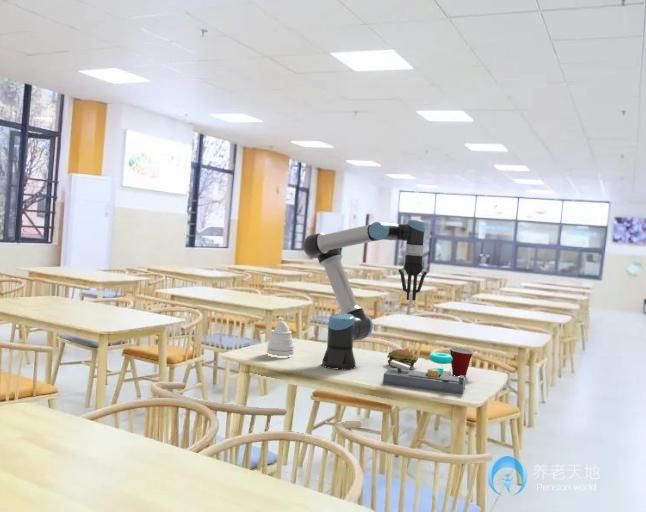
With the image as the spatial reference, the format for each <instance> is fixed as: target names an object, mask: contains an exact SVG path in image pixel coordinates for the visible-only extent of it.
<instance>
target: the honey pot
mask: <svg viewBox="0 0 646 512" xmlns="http://www.w3.org/2000/svg"><path fill="white" fill-rule="evenodd" d="M284 318H285V317H278V321H279V322H278V323H277V324H276V326H275V327H274V329H271V331H270V333H271V336H270V337H269V340H268V344H267V350H266V354H267V353H269V354H272V355H277V356H289V355H293V354H294V355H295V343H294V340H293V337H292V333H293V331H292V330H290V328H289V325H288V324H287V323H286V321H284V320H285V319H284Z"/></svg>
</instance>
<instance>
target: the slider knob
mask: <svg viewBox="0 0 646 512" xmlns="http://www.w3.org/2000/svg"><path fill="white" fill-rule="evenodd" d="M450 372H451V369H450V368H445V369H444V370H443V378H442V380H449V378H450Z"/></svg>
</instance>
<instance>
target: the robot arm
mask: <svg viewBox="0 0 646 512" xmlns="http://www.w3.org/2000/svg"><path fill="white" fill-rule="evenodd" d="M425 225H426V224H425V221H424V220H422V219H421V220H419V219H418V220H417V219H409V220H408V221H407V223H394V222H393V223H392V222H383V221H374V222H373V223H372V224H366V225H363V226H358V227H352V228H348V229H344V230H340V231H339V230H338V231H335V232H330V233H326V234H325V232H320V233H312V234H310V235H309V234H308V236H307V237H305V238H304V241H303V245H302V247H303V251H304V253H305V254H306V255H307V256H308V258H309V257H310V258H312V259H317V261H318V263H319V265H320V266H321V267H323V268H324V270H325V273H326V275H327V277H328V280H329V283H330V287H331V289H332V292H333V293H334V296H335V297H334V298H335V299H336V302H337V305H338V307H339V309H340V310H339V311H340V313H335V314H332V315H330V316H329V319H328V323H327V327H328V328H327V343H326V345H327V346H326V350H325V353H324V355H323V358H322V361H321V365H322V364H323V365H324V366H326V367H325V368H327V367H330V368H329V369H331V368H338V369H337V370H341V369H346V370H351V369H350V368H353V369H355V368H356V358H355V354H354V349H353V347H354V341H355V342H356V341H362V340H364V339H366V338H368V337H369V336H370V335H371V334H372V332H373V331H372V330H373V325H374V324H373V320H372V319H371V317H370V316H369V315H367V314H365V311H364V308H363V307H361V306H359V305H358V302H357V300H356V296H355V294H354V292H353V289H352V286H351V284H350V281H349V279H348V276H347V274H346V272H345V271H346V270H345V268H344V265H343V263H342V259H343V254H342V252H343V251H342V250H343V248H347V247H352V246H355V245H356V246H357V245H362V244H365V243H371V242H377V241H381V240H384V241H385V240H387V241H405V242H406V243H405V245H406V246H405V258H404V260H405V261H404V265H403V267H402V268H400V269H398V272H399V275H400V280H401V281H400V282H401V285H402V290H403V292H406V301H408V306H407V307H408V308H409V309H412V308H413V307H414V301H416V298H417V293H420V292H421V291H422V290H421V289H422V286H423V284H424V281H425V277H426V276H427V274H428V272H429V271H426V270H425V269H424V267H423V258H424V257H423V254H424V242H425V241H424V240H425V232H426V231H425V229H426V228H425V227H426V226H425ZM405 273H406V274H407V282H406V277H405ZM420 273H421V277H420V280H419V283H418V276H419V274H420ZM412 276H413V279H412ZM412 280H413V281H412ZM412 282H413V284H412ZM406 283H407V284H406ZM417 284H418V285H417ZM411 287H412V288H411ZM411 289H412V291H411ZM323 365H322V366H323ZM324 366H323V367H324ZM354 367H355V368H354Z"/></svg>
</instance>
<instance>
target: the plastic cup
mask: <svg viewBox="0 0 646 512" xmlns="http://www.w3.org/2000/svg"><path fill="white" fill-rule="evenodd" d="M449 353H450V355H451V356H452V358H453V360H452V361H451V362H450V363H451V370H452V371H451V374H452V376H454V375H455V376H460V375H463V376H465V377H466V376H467V373H468V369H469V366H470V361H471V358H472V356H473V354H474V351H473V350H471V349H469V348H463V347H457V346H451V347H449Z"/></svg>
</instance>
